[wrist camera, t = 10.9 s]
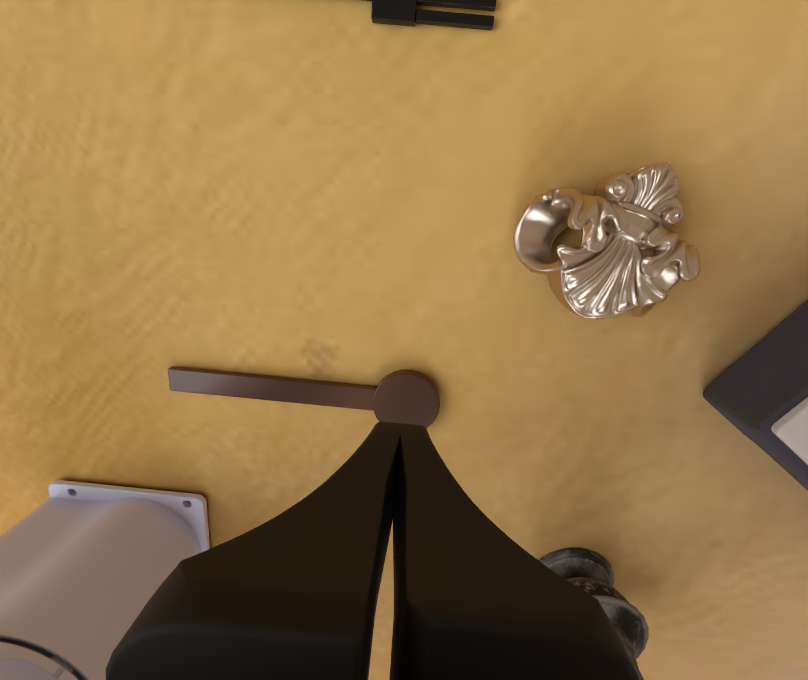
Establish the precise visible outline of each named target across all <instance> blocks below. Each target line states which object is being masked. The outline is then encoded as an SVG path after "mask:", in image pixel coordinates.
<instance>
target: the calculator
mask: <svg viewBox="0 0 808 680" xmlns="http://www.w3.org/2000/svg"><path fill="white" fill-rule="evenodd" d="M703 396H704V398H705V399H706V400H707V401H708V402H709V403H710V404H711V405H712V406H713V407H714V408H716V409H717V410H718V411H719V412H720V413H721V414H722V415H723V416H724V417H726V418H727V419H728V420H729V421H730V422H731V423H732V424H733V425H734V426H736V427H737V428H738V429H739V430H740V431H741V432H742V433H743V434H745V435H746V436H747V437H748V438H750V439H751V440H752V441H753V442H754V443H756V444H757V445H758V446H759V447H761V448H762V449H763V450H764V451H765V452H766V453H767V454H768V455H770V456H771V457H772V458H773V459H774V460H775V461H776V462H777V463H778V464H779V465H781V466H782V467H783V468H784V469H785V470H786V471H787V472H788V473H789V474H790V475H792V476H793V477H794V478H795V479H796V480H797V481H798V482H799V483H800V484H801V485H803V486H804V487H805V488H806V489H807V490H808V301H807V302H806V303H805V304H803V305H802V306H801V307H800V308H799V309H797V310H796V311H795V312H794V313H793V314H792V315H790V316H789V317H788V318H787V319H786V320H785V321H783V322H782V323H781V324H780V325H779V326H778V327H776V328H775V329H774V330H773V331H772V332H770V333H769V334H768V335H767V336H766V337H765V338H763V339H762V340H761V341H760V342H759V343H758V344H756V345H755V346H754V347H753V348H752V349H750V350H749V351H748V352H747V353H746V354H745V355H743V356H742V357H741V358H740V359H739V360H738V361H736V362H735V363H734V364H733V365H732V366H731V367H729V368H728V369H727V370H726V371H725V372H723V373H722V374H721V375H720V376H719V377H718V378H716V379H715V380H714V381H713V382H712V383H711V384H709V385H708V386H707V387H706V388H705V389H704V391H703Z"/></svg>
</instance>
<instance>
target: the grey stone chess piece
mask: <svg viewBox="0 0 808 680" xmlns="http://www.w3.org/2000/svg"><path fill="white" fill-rule="evenodd" d="M540 562H541V563H543V564H544V565H545V566H547V567H548V568H549V569H551V570H552V571H554V572H555V573H557V574H558V575H560V576H562V577H563V578H565V579H566V580H568V581H569V582H571V583H573V584H574V585H576V586H577V587H579V588H580V589H582V590H584V591H585V592H587V593H588V594H590V595H591V596H593V597H595V598H596V599H598V600H599V602H600V604H601V606H602V608H603V609H604V611H605V613H606V614H607V616H608V618H609V619H610V621H611V623H612V624H613V626H614V628H615V630H616V631H617V633H618V635H619V637H620V639H621V641H622V643H623V645H624V647H625V649H626V651H627V653H628V655H629V657H630V660H631V662H632V664H633V666H634V668H635V670H636V672H637V674H638V678H639V680H644V679H643V677H642V675H641V673H640V671H639V669H638V666H637V662H636V659H637V658H638V657H639V655H640V654H641V653H642V651H643V650H644V649H645V646H646V643H647V640H648V625H647V623H646V621H645V618H644V616H643V615H642V614H641V613H640V612H639V611H638V609H637V608H636V607H634V606H633V605H631V604H630V603H629V602H628V601H627V600H626V599H625V598H624V597H623V596H622V595H621V594H620V593H619V592H618V591H617V590H616V589H615V588H613V584H614V574H613V572H612V569H611V567H610V565H609V564H608V562H607V561H606V560H605V559H604V558H603V557H601V556H600V555H598V554H597V553H595V552H592V551H589V550H586V549H578V548H569V549H561V550H558V551H555V552H552V553H550V554H548V555H547V556H545V557H543V558H542V559H541V560H540Z"/></svg>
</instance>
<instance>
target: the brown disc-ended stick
mask: <svg viewBox="0 0 808 680" xmlns="http://www.w3.org/2000/svg"><path fill="white" fill-rule="evenodd" d="M168 374H169V384H170V390H172V391H182V392H192V393H202V394H212V395H222V396H232V397H242V398H252V399H262V400H273V401H283V402H293V403H303V404H313V405H323V406H333V407H343V408H353V409H363V410H373V411H374V413H375V415H376V417H377V419H378V420H379V421H381V422H392V423H403V424H413V425H423V426H424V427H425V428H427V427H429V426H430V425H431V424H432V423H433V422H434V420H435V419H436V417H437V415H438V412H439V407H440V402H439V394H438V391H437V388H436V386H435V385H434V383H433V382H432V381H431V380H430V379H429V378H428V377H426V376H425V375H423V374H421V373H419V372H416V371H411V370H400V371H396V372H393V373H391V374H389V375H387V376H386V377H384V378H383V379H382V380H381V381H380V383H379V384H378V386H377V387H376V386H366V385H356V384H345V383H335V382H325V381H315V380H305V379H295V378H284V377H274V376H264V375H254V374H244V373H234V372H224V371H213V370H203V369H193V368H183V367H173V366H172V367H170V368H169V369H168Z"/></svg>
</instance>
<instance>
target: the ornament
mask: <svg viewBox="0 0 808 680" xmlns="http://www.w3.org/2000/svg"><path fill="white" fill-rule="evenodd" d="M679 191H680V186H679V182H678V179H677V176H676V173H675V171H674V169H673V168H672V167H671V165H670V164H669V163H666V162H663V163H656V164H651V165H648V166H644V167H642V168H639V169H637V170H635V171H633V172H631V173H629V174H627V173H620V172H619V173H613V174H610V175H608V176H606V177H604V178H603V179H601V180H600V181H599V182H598V183H597V185H596V186H595V189H594V196H591V195H582V194H581V193H580V192H579V191H577V190H575V189H570V188H561V189H553V190H549V191H548V192H547V193H546V194H540V195H538V196H536V197H535V198H534V199H533V200H532V201H531V202H530V203H529V204H528V205H527V207H526V208H525V210H524V211H523V213H522V215H521V216H520V218H519V220H518V222H517V225H516V228H515V232H514V248H515V252H516V255H517V257H518V259H519V261H520V262H521V263H522V264H523V265H524V266H525V267H526V268H528V269H529V270H530V271H531V272H536V273H540V274H548V279H549V283H550V287H551V289H552V291H553V293H554V294H555V296H556V298H557V299H558V300H559V301H560V302H561V304H562V305H563V306H564V307H565V308H567V309H568V310H569V311H571V312H573V313H574V314H576V315H578V316H581V317H584V318H591V319H604V318H611V317H615V316H618V315H621V314H623V313H625V312H627V311H629V310H632V312H631V315H632V316H633V317H642V316H644V315H645V314H646V313H647V312H648V311H650V310H651V309H652V308H653V306H655V305H656V304H657V303H658V302H661V301H664V300H665V299H666V297H667V294H666V293H667V292H668V291H669V290H670V289H671V288H672V287H673V286H674V285H675V284H676V283H677V282H678V280H681V281H683V282H689V281H691V280H693V279H695V278H696V277H697V275H698V274H699V270H700V266H699V253H698V250H697V249H696V248H695V247H694V246H693V245H689V244H687V245H686V241H685V240H678V238H679V235H678V234H677V233H675V232H669V231H667V230H666V228H667V227H674V226H676V225H678V224H679V223H680V222H681V220H682V218H683V207H682V204H681V202H680V201H679V199H677V198H676V197H675V196H677V195H678V194H679ZM567 227H569V228H570V229H571V230H573V231H578V230H581V229H582V228H583V237H582V244H581V245H579V246H577V247H571V246H568V245H565V244H562V245H559V246H558V247H557V249H556V252H557V254H558V256H559V257H560V259H559V260H558V261H556V262H554V263H553V262H552V261H551V247H552V243H553V241H554V240H555V238H556V237H557V236H558V235H559V234H560V233H561V232H562V231H563V230H564V229H566V228H567Z"/></svg>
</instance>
